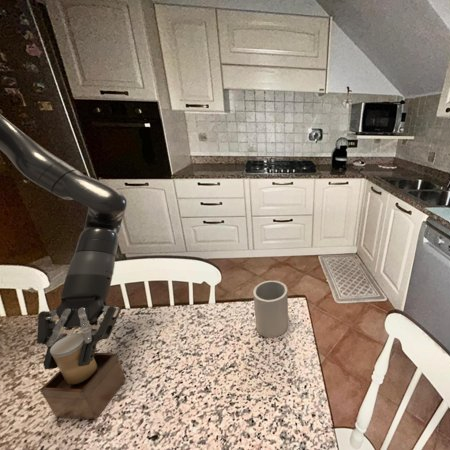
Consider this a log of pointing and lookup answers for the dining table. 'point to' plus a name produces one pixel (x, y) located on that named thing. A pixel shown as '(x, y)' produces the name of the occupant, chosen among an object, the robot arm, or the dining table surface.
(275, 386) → the dining table surface
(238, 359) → the dining table surface
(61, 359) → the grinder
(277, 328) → the cup
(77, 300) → the robot arm
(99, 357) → the box
